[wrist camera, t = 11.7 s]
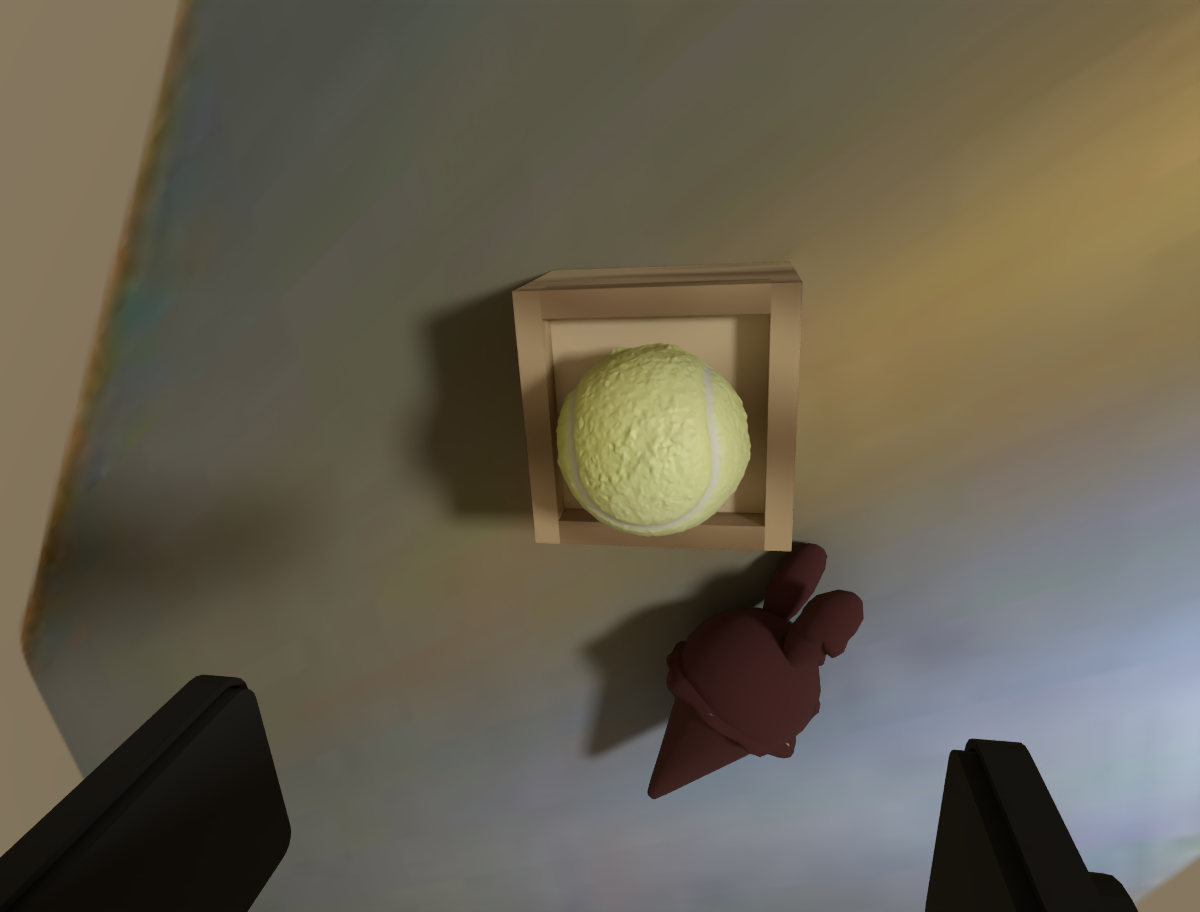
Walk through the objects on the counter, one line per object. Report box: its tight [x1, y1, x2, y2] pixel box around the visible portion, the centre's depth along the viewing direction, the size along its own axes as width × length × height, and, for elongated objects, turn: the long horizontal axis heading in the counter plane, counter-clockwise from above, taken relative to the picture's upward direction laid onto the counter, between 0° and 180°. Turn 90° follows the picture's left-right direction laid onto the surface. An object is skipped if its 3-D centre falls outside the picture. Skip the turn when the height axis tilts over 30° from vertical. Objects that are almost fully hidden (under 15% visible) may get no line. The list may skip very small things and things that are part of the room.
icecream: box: [647, 543, 864, 799], centre depth 34 cm, size 7×7×15 cm
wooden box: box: [512, 262, 803, 551], centre depth 30 cm, size 10×10×6 cm
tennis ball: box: [556, 343, 751, 537], centre depth 25 cm, size 6×7×7 cm
